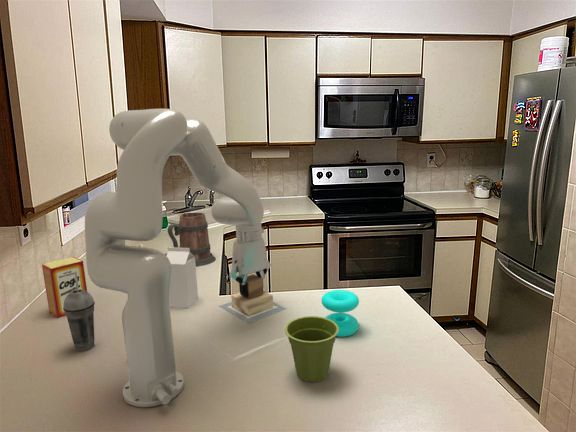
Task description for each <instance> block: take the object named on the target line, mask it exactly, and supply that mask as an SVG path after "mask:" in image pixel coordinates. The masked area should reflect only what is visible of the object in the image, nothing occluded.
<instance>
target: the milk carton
mask: <svg viewBox="0 0 576 432" xmlns="http://www.w3.org/2000/svg"><path fill="white" fill-rule="evenodd" d="M166 256H167V257H168V259H169V261H170V263H171V268H172V274H171V282H170V295H169V299H170V308H176V309H177V308H178V309H190V308H191V307H192V306H193V305H194V304H195V303H196V302H197V301H198V300H199V293H198V291H199V289H198V280H197V268H196V264H195V257H194V256H193V254H192V253H191V252H190V249H189V248H179V247H178V248H174V246H173V247H167V255H166Z"/></svg>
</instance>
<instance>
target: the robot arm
mask: <svg viewBox="0 0 576 432" xmlns="http://www.w3.org/2000/svg"><path fill="white" fill-rule="evenodd" d="M108 128H109V136H110V138H111V141H112V142H113V143H114V144H115V145H116V146H117V147H118V148H120V150H123V151H122V153H121V155H120V157H119V159H118V162H117V166H116V167H117V168H116V185H115V186H116V187H115V188H116V190H115V192H113V191H112V192H103V193H100V194H98V195H96V196H95V197H93V199H92V200H91V201H90V202H89V204H88V205H87V206H88V207H87V209H86V211H85V215H84V238H85V240H84V241H85V242H84V243H85V261H86V270H87V274H88V276H89V279H90V281H91V282H92V283H93V284H94V285H95V286H97V287H99V288H101V289H106V290H110V291H115V292H120V293H124V294H126V295H127V301H126V303H125V305H124V307H123V309H122V312H121V322H122V323H121V324H122V329H123V336H124V337H123V338H124V345H125V353H126V356H125V357H126V363H127V372H128V378H129V379H128V381H127V382H126V383H125V384H124V386H123V388H122V396H123V400H124V401H125V402H126V403H127V404H128V405H131V406H133V407H136V408H152V407H156V406H160V405H163V406H165V405H168V404H169V403H170V402H171V400H173V399H174V398H177V396H178V395H179V394H180V393H181V392H182V391H183V389H184V387H185V377H184V375H183V374H182V373H181V372H180V371H178V370H176V368H177V367H176V360H175V359H176V358H175V348H174V337H173V329H172V328H173V326H172V316H171V307H170V299H169V295H170V282H171V274H172V268H171V263H170V261H169V259H168V257H167V256H166V255H165V254H166V253H164V252H162V251H160V250H158V249H155V248H151V247H145V246H137V245H126V241H133V242H149V241H153V240H154V239H156V238H157V237H158V236H159V235H160V234H161V232H162V229H163V172H164V167H165V165H166V163H167V160H168V159H169V157H170V156H180V157H181V158H182V159H183V161H184V162H185V164H186V165H187V168H188V169H189V170H190V172H191V174H192V175H193V177H194V178H195V180H196V182H197V183H198V184H199V185H201V186H202V187H203V188H205V189H208V190H210V191H213V192H214V193H218V194H220V195H223V197H220V198H218V199H216V200H215V201H214V203H212V206H211V212H210V213H211V216H212V218H213V220H214V221H215V222H217V223H219V224H221V225H229V226H230V225H232V226H235V238H236V240H234V241H233V246H232V252H231V253H232V255H231V256H232V257H231V260H232V261H231V266H232V267H231V268H232V269H231V271H230V272H229V274H228V277H229V278H231V279H232V280H234V281H236V282H237V283H238V284H239V287H238V288H239V292H240V294H241V295H242V296H244V297H248V287H247V284H246V279H247V276H249V275H252V274H255V275H256V276H258V277H260V278H263V280H264V279H265V277H266V274H267V273H268V271H269V269H270V268H271V266H272V263H271V262H270V261H269V260H268V257H267V248H266V243H265V239H264V237H263V233H265V229H264V228H262V220H263V218H264V212H265V211H264V205H263V202H262V199H261V196H260V195H259V193H258V190H257V189H256V187H255V186H254V184H252V182H250V180H249V179H247V178H245V176H243V175H242V174H241V173H239V172H238V171H236V170H235V169H233V168H232V167H230V166H229V165H228V164H227V161H225V158H224V157H223V155H222V152H221V151H220V149H219V146H217V143H216V141H215V139H214V137H213V135H212V133H211V131H210V130H209V127H208V126H207V125H206V123H205V122H204V121H201V120H199V119H196V118H186V117H185V115H184V114H183V113H182V112H180V111H178V110H176V109H173V108H172V109H171V108H149V109H148V108H146V109H132V110H130V109H129V110H122V111H120V112H117V114H115V115H114V116H113V117H112V118H111V121H110V122H109V127H108ZM237 273H238V275H237Z"/></svg>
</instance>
